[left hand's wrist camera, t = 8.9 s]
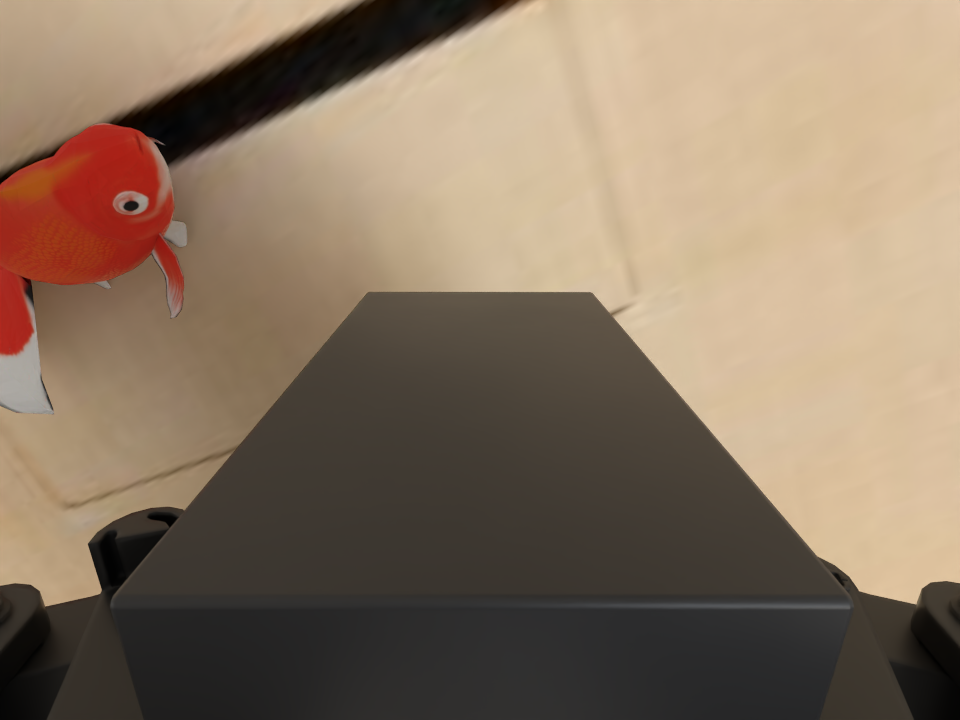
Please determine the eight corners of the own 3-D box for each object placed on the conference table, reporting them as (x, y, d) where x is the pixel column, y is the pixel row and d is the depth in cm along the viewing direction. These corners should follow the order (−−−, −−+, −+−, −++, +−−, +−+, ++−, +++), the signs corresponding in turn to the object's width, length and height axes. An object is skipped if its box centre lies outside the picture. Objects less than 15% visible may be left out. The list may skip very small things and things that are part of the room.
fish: (298, 380, 21) (-30, 431, 13) (96, 406, 29) (-195, 449, 20) (258, 108, 21) (-106, -27, 13) (65, 207, 29) (-243, 165, 20)
